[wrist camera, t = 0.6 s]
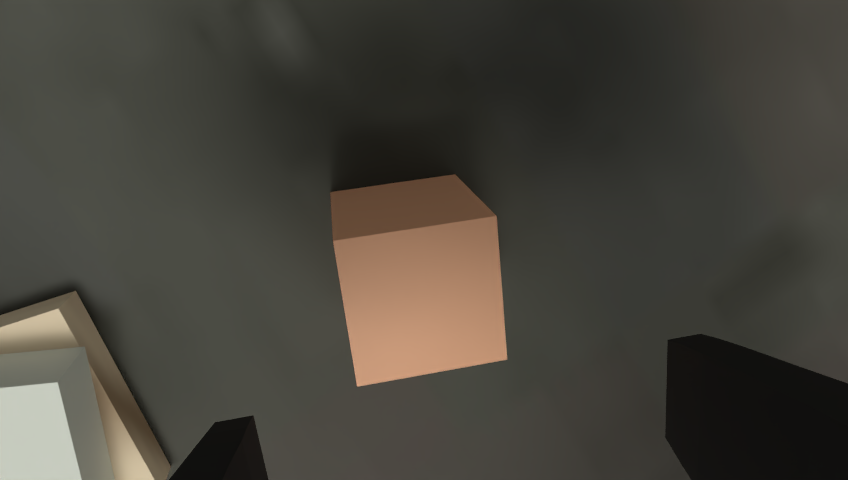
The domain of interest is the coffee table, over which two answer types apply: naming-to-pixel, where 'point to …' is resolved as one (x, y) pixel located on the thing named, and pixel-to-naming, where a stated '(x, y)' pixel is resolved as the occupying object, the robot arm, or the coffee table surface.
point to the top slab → (50, 418)
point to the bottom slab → (121, 417)
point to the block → (418, 278)
